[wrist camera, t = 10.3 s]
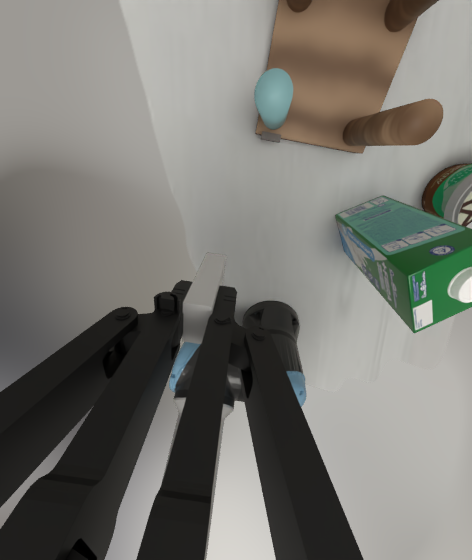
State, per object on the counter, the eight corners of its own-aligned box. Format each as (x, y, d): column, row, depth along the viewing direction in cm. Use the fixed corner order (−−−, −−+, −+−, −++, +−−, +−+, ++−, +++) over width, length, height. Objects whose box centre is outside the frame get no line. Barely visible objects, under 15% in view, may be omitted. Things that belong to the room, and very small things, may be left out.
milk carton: (389, 236, 46) (505, 313, 25) (344, 252, 48) (414, 334, 27) (383, 194, 42) (515, 244, 21) (335, 214, 44) (408, 277, 23)
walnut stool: (353, 157, 39) (425, 165, 23) (254, 138, 39) (254, 132, 22) (415, 0, 29) (621, -190, 13) (283, -28, 29) (322, -260, 12)
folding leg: (283, 131, 33) (287, 120, 21) (260, 127, 34) (251, 114, 22) (290, 101, 32) (298, 71, 20) (265, 97, 32) (259, 64, 20)
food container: (465, 138, 37) (529, 135, 28) (486, 161, 38) (553, 165, 29) (399, 202, 42) (435, 216, 34) (419, 219, 44) (459, 237, 35)
